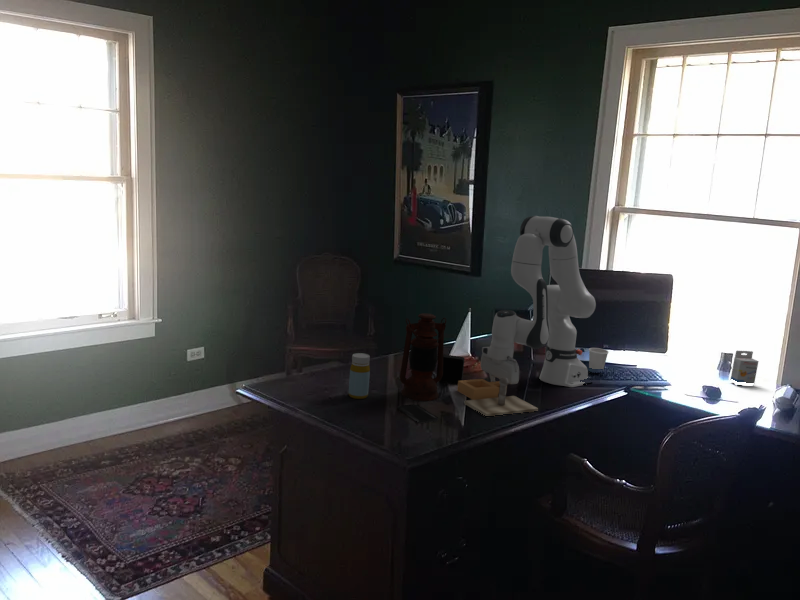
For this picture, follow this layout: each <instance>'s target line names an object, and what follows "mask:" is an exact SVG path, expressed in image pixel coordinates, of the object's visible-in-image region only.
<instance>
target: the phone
mask: <svg viewBox="0 0 800 600" xmlns="http://www.w3.org/2000/svg"><path fill="white" fill-rule="evenodd" d="M397 409H398V411H400V412H402V413H403V414H405V415H406V416H407V417H409V418H411V419H412V420H413V421H415V422H416V421H417V422H416V423H418V422H419V423H418V424H425V422H426V423H433V421H434V422H438V421H439V417H438V416H436V415H435V414H433V413H431V412H430V411H428V410H426V409H425V408H423V407H422V406H420V405H419V404H417V403H415V404H414V403H411V404H404V405H398V406H397Z"/></svg>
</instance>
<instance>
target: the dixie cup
mask: <svg viewBox="0 0 800 600" xmlns="http://www.w3.org/2000/svg"><path fill="white" fill-rule="evenodd" d="M609 352H610V351H608V350H607V349H604V348H599V347H590V348H588V354H589V355H588V358H589V359H588V369H589V368H592V369H603V370H604V369H605V365H606V361H607V357H608V354H609Z"/></svg>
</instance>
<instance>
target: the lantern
mask: <svg viewBox="0 0 800 600" xmlns="http://www.w3.org/2000/svg"><path fill="white" fill-rule="evenodd" d="M417 318H419V319H418V322H414V323H411V321H410V319H409V318H407V317H406V318H405V323H406V326H405V330H406V331H405V332H406V334H405V341H404V347H403V354H402V360H401V367H400V373H399V380H400V382H401V384H403V388H402V389H401V392H400V394H401V396H402V397H404V398H405V399H408V398H409V400H413V401H417V400H419V402H431V401H434V400H438V399H439V395H440V393H439V392H438V383H439V382H440V380H441V379H442V376H443V354H444V345H445V344H444V342H445V341H444V339H445V336H444V335H445V330H446V324H447V318H446V317H442V319H441V320H440V322H435V320H436V318H437V316H436V315H434V314H432V313H424V312H423V313H420V314H418V315H417ZM443 320H445V321H444V322H443ZM436 330H437V332H436ZM437 333H438V334H437ZM413 336H414V338H412V337H413ZM436 336H438V337H437V338H438V339H437V338H434V337H436ZM408 362H409V363H408ZM408 364H409V369H410V373H411V375H410V376H409V377H408V378H406V375H407V371H408V370H407V369H408ZM437 364H438V367H437ZM436 367H437V368H436ZM435 371H436V375H437V377H436V376H435V377H432V376H433V374H434V372H435Z"/></svg>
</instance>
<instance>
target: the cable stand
mask: <svg viewBox="0 0 800 600" xmlns="http://www.w3.org/2000/svg"><path fill="white" fill-rule="evenodd" d="M498 381H499V383H500V390H499V394H498V397H497V398H487V399H476V400H472V399H468V400H464V405H466V406H467V407H469V408H470V409H472V410H474V411H475V410H476V411H475V412H477V411H478V413H479V412H480V413H481V414H480V413H479V414H480V415H482V414H483V415H482V416H484V415H485V416H494V417H496V416H495V415H503V414H512V415H514V414H513V413H521V414H524V413H523V412H529V413H535V412H534V411H539V408H538V407H536V406H535V405H532V404H531V403H529V402H527V401H525V400H524V399H522V398H519V397H517V396H516V395H509V396H507V391H506V389H508V385H509V383H508V379H507V378H505V377H502V378H501V379H499V380H498ZM485 416H484V417H485ZM503 416H504V415H503Z"/></svg>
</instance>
